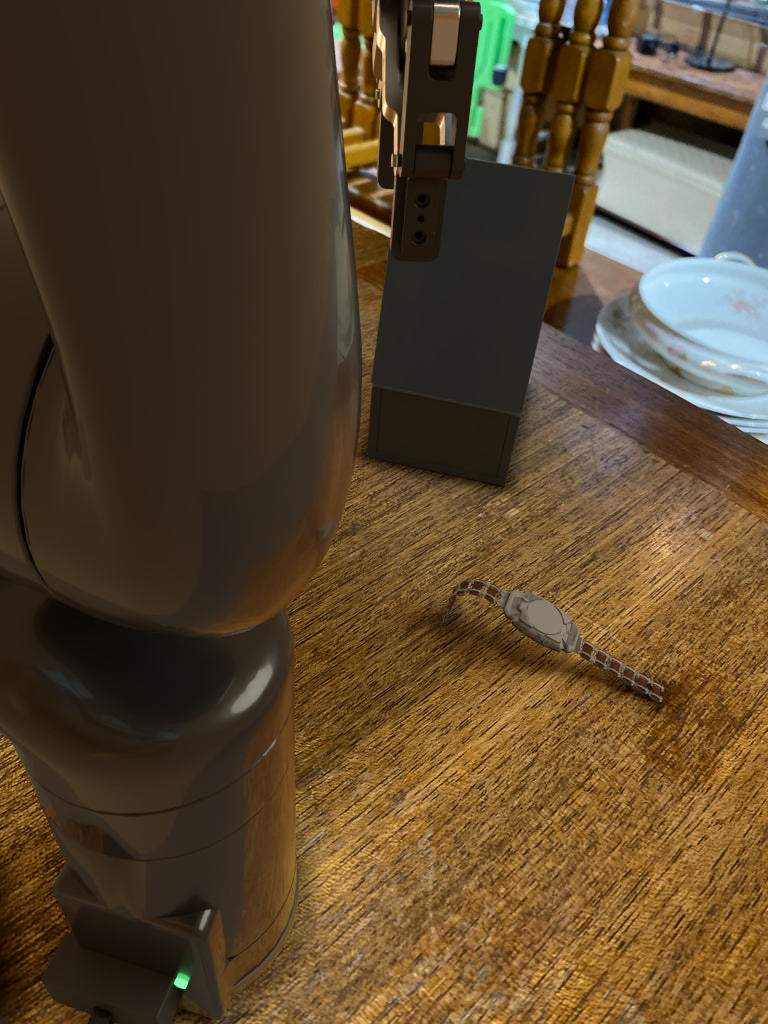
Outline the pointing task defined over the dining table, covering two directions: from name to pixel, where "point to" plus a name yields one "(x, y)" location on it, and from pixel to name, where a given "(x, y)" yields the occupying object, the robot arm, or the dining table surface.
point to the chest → (441, 434)
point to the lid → (476, 289)
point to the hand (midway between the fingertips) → (404, 220)
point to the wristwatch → (551, 630)
